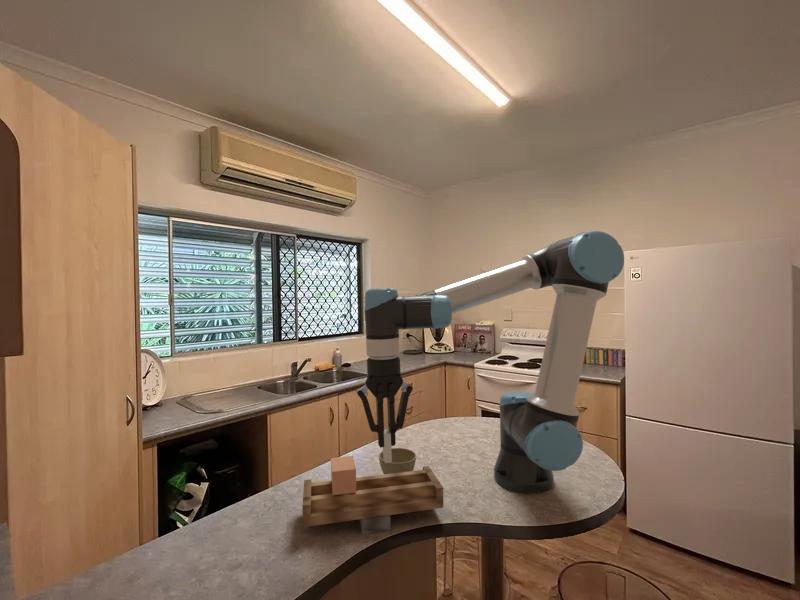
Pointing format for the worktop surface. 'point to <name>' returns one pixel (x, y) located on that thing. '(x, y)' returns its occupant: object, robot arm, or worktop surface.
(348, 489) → the block
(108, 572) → the worktop surface
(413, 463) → the flower pot
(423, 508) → the wooden crate
